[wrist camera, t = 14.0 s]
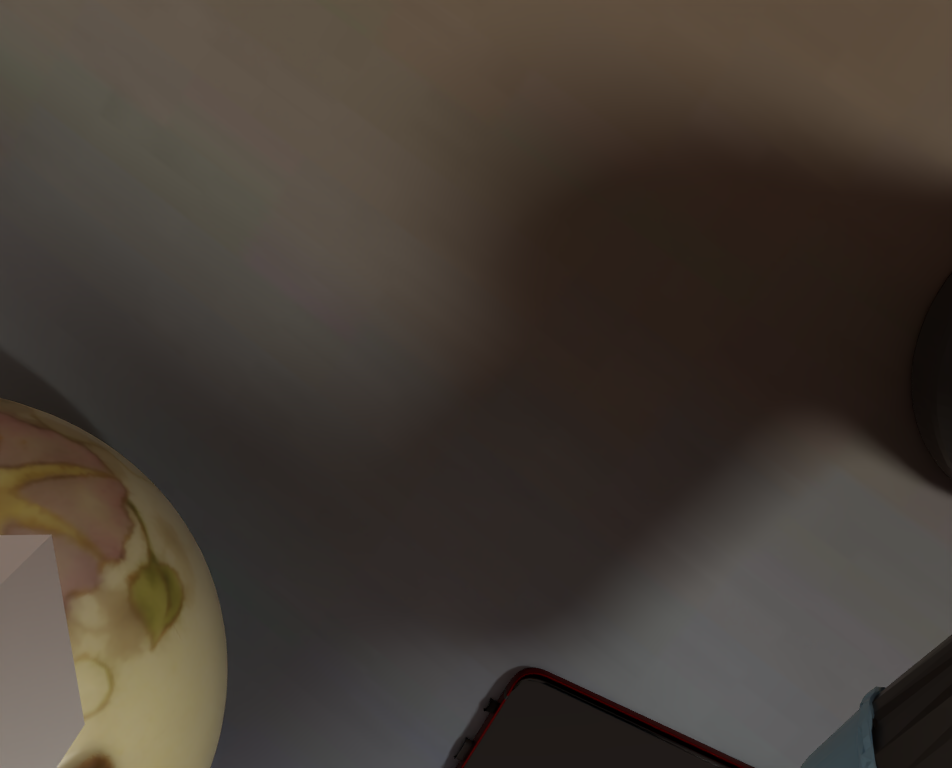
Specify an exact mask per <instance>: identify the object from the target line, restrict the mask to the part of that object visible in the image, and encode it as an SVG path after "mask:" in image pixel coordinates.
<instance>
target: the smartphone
mask: <svg viewBox="0 0 952 768" xmlns="http://www.w3.org/2000/svg"><path fill="white" fill-rule="evenodd" d="M484 711H489V712H490V714H489V715H488V717H487V719H486V720H485V722H484V723H483V725H482V727H481V728H480V730H479V731H478V733H477V735H476V736H475V738H474V739H473V741H472V740H470V739H468V738H466V741H465V744H464V745H463V747H462V749H461V750H460V752H459V753H458V755H457V756H454V759H455V758H456V759H458V760H460V762H459V763H458V765H457V767H456V768H754V767H751V766H749V765H747V764H745V763H743V762H741V761H739V760H737V759H734V758H732V757H730V756H728V755H726V754H724V753H722V752H720V751H718V750H716V749H713V748H711V747H709V746H707V745H705V744H703V743H701V742H699V741H696V740H694V739H692V738H690V737H688V736H686V735H684V734H681V733H679V732H677V731H675V730H673V729H671V728H669V727H666V726H664V725H662V724H660V723H658V722H656V721H653V720H651V719H649V718H647V717H645V716H643V715H641V714H638V713H636V712H634V711H632V710H630V709H628V708H625V707H623V706H621V705H619V704H617V703H615V702H613V701H610V700H608V699H606V698H604V697H602V696H600V695H597V694H595V693H593V692H591V691H589V690H587V689H585V688H582V687H580V686H578V685H576V684H574V683H572V682H569V681H567V680H565V679H563V678H561V677H559V676H556V675H554V674H552V673H550V672H548V671H545V670H542V669H539V668H526V669H523V670H521V671H519V672H518V673H517V674H516V675H515V676H514V677H513V678H512V679H511V681H510V682H509V684H508V685H507V687H506V688H505V690H504V692H503V693H502V695H501V696H500V698H499V699H498V702H497V701H495V700H493V699H491V700H490V703H489V706H488V707H487V709H485V708H484Z"/></svg>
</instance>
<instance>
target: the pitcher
mask: <svg viewBox="0 0 952 768" xmlns="http://www.w3.org/2000/svg"><path fill="white" fill-rule="evenodd" d="M0 535H52V540H53V546H54V551H55V557H56V563H57V568H58V574H59V580H60V586H61V591H62V597H63V603H64V608H65V614H66V620H67V626H68V631H69V637H70V643H71V648H72V654H73V660H74V666H75V671H76V677H77V683H78V689H79V694H80V700H81V706H82V711H83V717H84V723H85V725H84V726H83V728H82V729H81V731H80V732H79V734H78V736H77V737H76V739H75V740H74V742H73V743H72V745H71V746H70V748H69V749H68V751H67V752H66V754H65V755H64V757H63V759H62V760H61V762H60V763H59V765H58V766H57V768H210V767H211V765H212V762H213V759H214V755H215V752H216V749H217V745H218V741H219V737H220V733H221V728H222V723H223V718H224V711H225V703H226V693H227V668H228V663H227V645H226V635H225V627H224V622H223V616H222V611H221V607H220V602H219V599H218V595H217V591H216V588H215V585H214V582H213V579H212V576H211V574H210V571H209V568H208V566H207V563H206V561H205V559H204V556H203V554H202V552H201V550H200V548H199V546H198V544H197V543H196V541H195V539H194V537H193V535H192V534H191V532H190V530H189V529H188V527H187V526H186V524H185V522H184V521H183V519H182V518H181V517H180V515H179V514H178V512H177V511H176V510H175V508H174V507H173V506H172V504H171V503H170V502H169V501H168V499H167V498H166V497H165V496H164V495H163V494H162V493H161V491H160V490H159V489H158V488H157V487H156V486H155V485H154V483H153V482H152V481H151V480H150V479H149V478H147V477H146V476H145V475H144V474H143V473H142V472H141V471H140V470H139V469H138V468H137V467H136V466H134V465H133V464H132V463H131V462H130V461H129V460H127V459H126V458H125V457H124V456H122V455H121V454H120V453H118V452H117V451H116V450H114V449H113V448H111V447H110V446H109V445H107V444H106V443H104V442H103V441H101V440H100V439H98V438H96V437H95V436H93V435H91V434H90V433H88V432H86V431H84V430H82V429H81V428H79V427H77V426H75V425H73V424H71V423H69V422H67V421H65V420H63V419H60V418H58V417H56V416H54V415H51V414H49V413H46V412H43V411H41V410H38V409H35V408H32V407H29V406H26V405H23V404H20V403H17V402H14V401H10V400H7V399H3V398H0Z"/></svg>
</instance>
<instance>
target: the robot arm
mask: <svg viewBox="0 0 952 768" xmlns="http://www.w3.org/2000/svg"><path fill="white" fill-rule="evenodd" d="M912 401H913V407H914V413H915V417H916V421H917V425H918V428H919V431H920V434H921V436H922V438H923V440H924V443H925V445H926V447H927V448H928V450H929V452H930V454H931V455H932V457H933V458H934V460H935V461H936V463H937V464H938V465H939V467H940V468H941V469H942V470H943V472H944V473H945V474H946V475H947V476H948V477H949V478H950V479H951V480H952V274H951V275H950V276H949V277H948V279H947V280H946V282H945V283H944V285H943V286H942V288H941V289H940V291H939V292H938V294H937V296H936V298H935V299H934V301H933V303H932V305H931V307H930V309H929V311H928V313H927V315H926V318H925V320H924V323H923V325H922V328H921V331H920V334H919V337H918V341H917V345H916V349H915V354H914V360H913V367H912ZM84 725H85V723H84V717H83V711H82V706H81V700H80V694H79V689H78V683H77V677H76V671H75V666H74V660H73V654H72V648H71V643H70V637H69V631H68V626H67V620H66V614H65V608H64V603H63V597H62V591H61V586H60V580H59V574H58V568H57V563H56V557H55V551H54V546H53V540H52V535H0V768H57V766H58V765H59V763H60V762H61V760H62V759H63V757H64V755H65V754H66V752H67V751H68V749H69V748H70V746H71V745H72V743H73V742H74V740H75V739H76V737H77V736H78V734H79V732H80V731H81V729H82V728H83V726H84ZM801 768H952V635H951V636H949V637H948V638H947V639H946V640H944V641H943V642H942V643H941V644H940V645H938V646H937V647H936V648H935V649H933V650H932V651H931V652H930V653H928V654H927V655H926V656H925V657H923V658H922V659H921V660H920V661H919V662H917V663H916V664H915V665H914V666H912V667H911V668H910V669H909V670H907V671H906V672H905V673H904V674H902V675H901V676H900V677H899V678H898V679H896V680H895V681H894V682H893V683H891V684H890V685H889V686H888V687H886V688H885V687H875V688H874V689H872V690H871V691H870V692H869V693H867V694H866V695H865V696H864V698H863V700H862V702H861V704H860V709H859V710H858V711H857V712H856V713H855V714H854V715H853V716H852V717H851V718H850V719H848V720H847V721H846V722H845V723H844V724H843V725H842V726H841V727H840V728H839V729H838V730H837V731H836V732H835V733H833V734H832V735H831V736H830V737H829V738H828V739H827V740H826V741H825V742H824V743H823V744H822V745H821V746H819V747H818V748H817V749H816V750H815V751H814V752H813V753H812V754H811V755H810V756H809V757H808V758H807V759H806V761H805V762H804V763H803V764H802V766H801Z"/></svg>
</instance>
